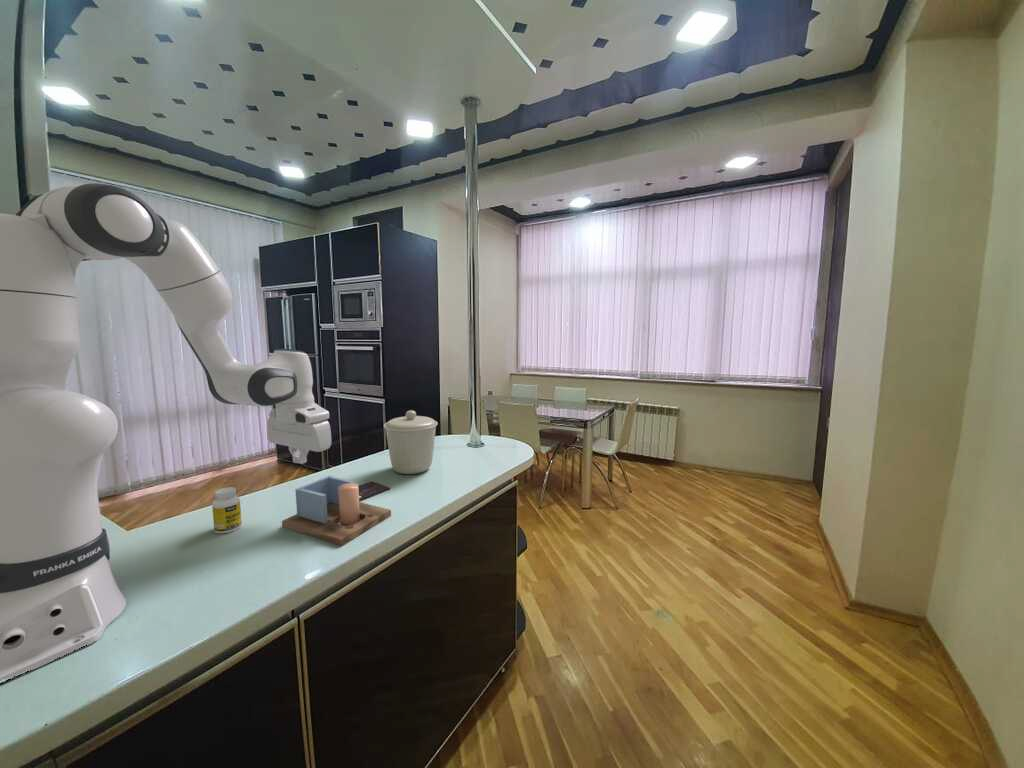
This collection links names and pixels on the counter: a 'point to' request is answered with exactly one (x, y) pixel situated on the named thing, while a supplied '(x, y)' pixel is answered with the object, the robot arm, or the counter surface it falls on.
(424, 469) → the canister
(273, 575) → the counter surface
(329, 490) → the housing
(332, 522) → the socket board
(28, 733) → the counter surface
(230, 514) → the supplement bottle
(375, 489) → the chocolate bar
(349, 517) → the peg
